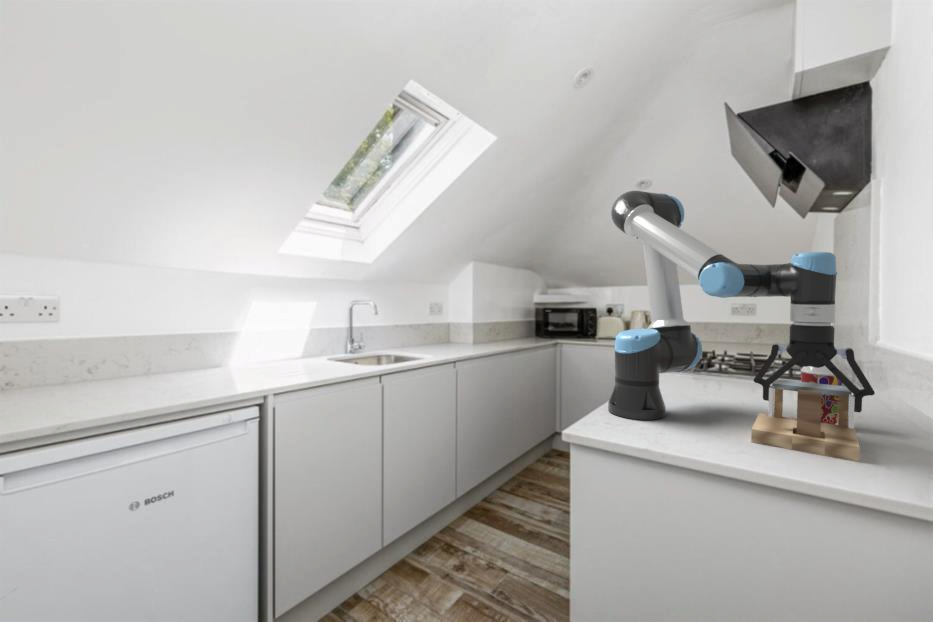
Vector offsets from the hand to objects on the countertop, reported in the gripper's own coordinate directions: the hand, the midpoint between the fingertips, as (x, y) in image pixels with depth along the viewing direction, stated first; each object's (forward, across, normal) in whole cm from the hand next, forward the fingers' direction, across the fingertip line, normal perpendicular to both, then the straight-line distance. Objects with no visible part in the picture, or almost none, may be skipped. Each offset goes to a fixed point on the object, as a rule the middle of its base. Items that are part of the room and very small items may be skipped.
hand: (808, 420), depth 93 cm
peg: (+6, 0, 0) cm, 6 cm away
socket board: (+6, -1, +4) cm, 7 cm away
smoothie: (+6, +2, +22) cm, 22 cm away
